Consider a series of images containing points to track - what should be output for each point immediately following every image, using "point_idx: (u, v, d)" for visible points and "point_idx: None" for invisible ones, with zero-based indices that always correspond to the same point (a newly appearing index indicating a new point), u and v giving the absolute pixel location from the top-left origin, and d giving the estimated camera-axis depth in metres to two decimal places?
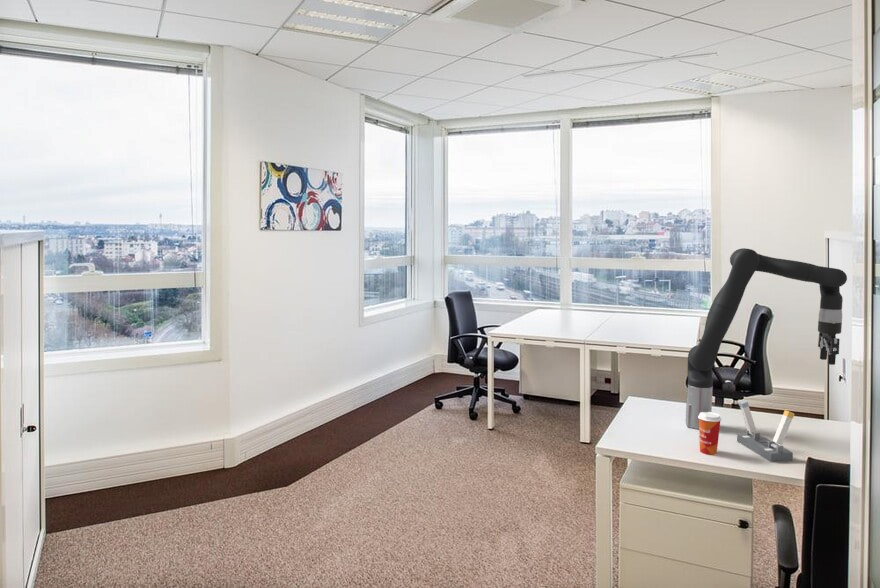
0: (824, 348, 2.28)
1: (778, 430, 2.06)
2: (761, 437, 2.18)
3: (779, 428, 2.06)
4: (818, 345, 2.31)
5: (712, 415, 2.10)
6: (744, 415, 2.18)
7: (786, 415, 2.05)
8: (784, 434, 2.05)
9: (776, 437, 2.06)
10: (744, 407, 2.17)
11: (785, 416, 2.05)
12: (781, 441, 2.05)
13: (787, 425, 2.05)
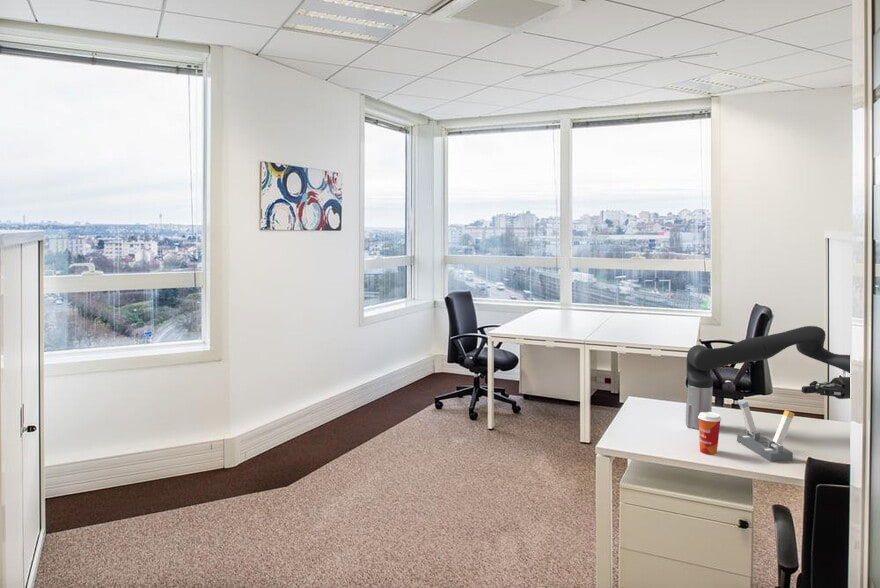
0: None
1: (778, 430, 2.06)
2: (761, 437, 2.18)
3: (779, 428, 2.06)
4: (822, 394, 2.03)
5: (712, 415, 2.10)
6: (744, 415, 2.18)
7: (786, 415, 2.05)
8: (784, 434, 2.05)
9: (776, 437, 2.06)
10: (744, 407, 2.17)
11: (785, 416, 2.05)
12: (781, 441, 2.05)
13: (787, 425, 2.05)
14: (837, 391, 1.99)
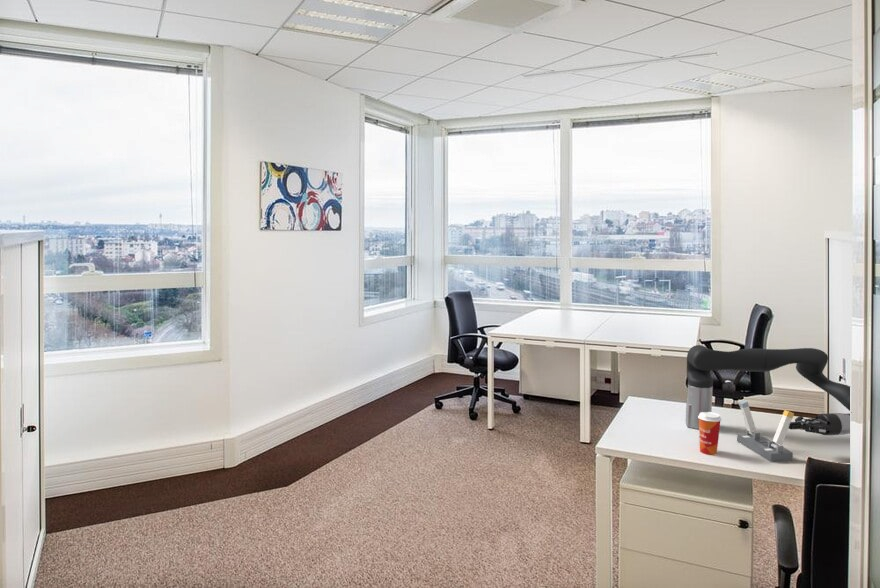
0: None
1: (778, 430, 2.06)
2: (761, 437, 2.18)
3: (779, 428, 2.06)
4: None
5: (712, 415, 2.10)
6: (744, 415, 2.18)
7: (786, 415, 2.05)
8: (784, 434, 2.05)
9: (776, 437, 2.06)
10: (744, 407, 2.17)
11: (785, 416, 2.05)
12: (781, 441, 2.05)
13: (787, 425, 2.05)
14: (822, 428, 2.00)
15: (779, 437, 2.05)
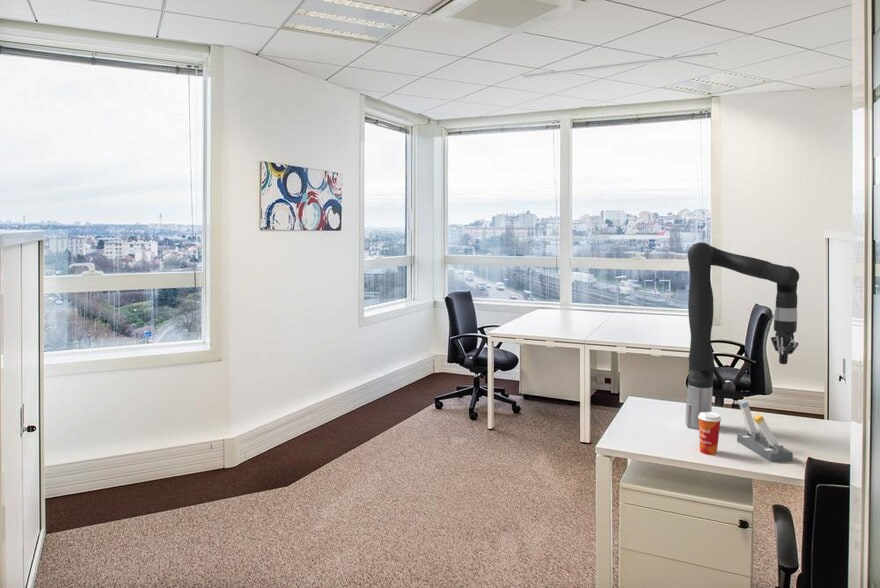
0: None
1: (764, 435, 2.06)
2: (761, 437, 2.18)
3: (763, 433, 2.06)
4: None
5: (712, 415, 2.10)
6: (744, 415, 2.18)
7: (757, 422, 2.04)
8: (771, 435, 2.04)
9: (768, 441, 2.06)
10: (744, 407, 2.17)
11: (758, 423, 2.04)
12: (775, 441, 2.05)
13: (766, 428, 2.04)
14: (792, 346, 2.17)
15: (770, 440, 2.05)
